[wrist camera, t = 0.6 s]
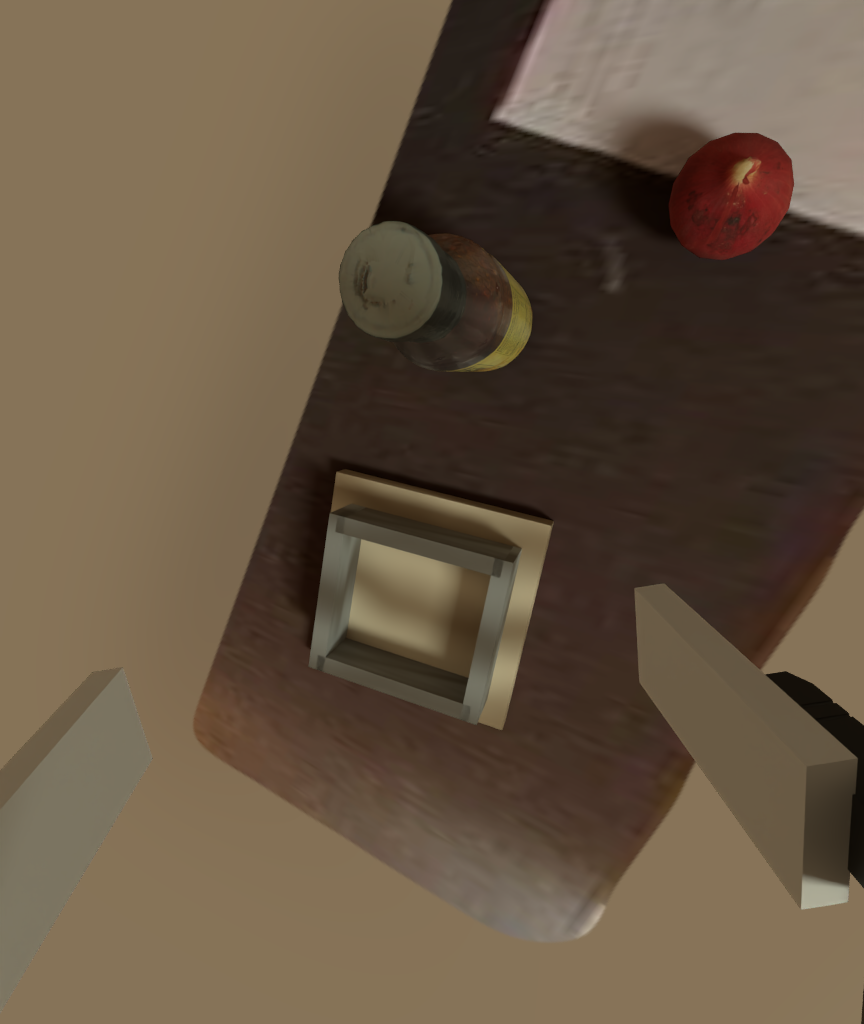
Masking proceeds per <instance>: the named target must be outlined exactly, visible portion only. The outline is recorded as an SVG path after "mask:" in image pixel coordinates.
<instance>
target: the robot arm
mask: <svg viewBox="0 0 864 1024" xmlns="http://www.w3.org/2000/svg"><path fill="white" fill-rule="evenodd" d="M635 607H636V626H637V646H638V665H639V682H640V684H641V685H642V687H643V688H644V689H645V691H646V692H647V694H648V695H649V696H650V698H651V699H652V701H653V702H654V704H655V705H656V706H657V708H658V709H659V711H660V712H661V713H662V715H663V716H664V718H665V719H666V720H667V722H668V723H669V725H670V726H671V727H672V729H673V730H674V732H675V733H676V734H677V736H678V737H679V739H680V740H681V742H682V743H683V744H684V746H685V747H686V749H687V750H688V751H689V753H690V754H691V756H692V757H693V758H694V760H695V761H696V763H697V764H698V765H699V767H700V768H701V770H702V771H703V772H704V774H705V775H706V777H707V778H708V779H709V781H710V782H711V784H712V785H713V787H714V788H715V789H716V791H717V792H718V794H719V795H720V796H721V798H722V799H723V801H724V802H725V803H726V805H727V806H728V808H729V809H730V810H731V812H732V813H733V815H734V816H735V817H736V819H737V820H738V822H739V823H740V825H741V826H742V827H743V829H744V830H745V831H746V833H747V834H748V836H749V837H750V839H751V840H752V841H753V842H754V844H755V846H756V847H757V848H758V850H759V851H760V853H761V854H762V856H763V857H764V858H765V860H766V861H767V863H768V864H769V865H770V867H771V868H772V870H773V871H774V872H775V874H776V875H777V877H778V878H779V879H780V881H781V882H782V884H783V885H784V886H785V888H786V889H787V891H788V892H789V893H790V895H791V896H792V898H793V899H794V900H795V902H796V903H797V905H798V906H799V907H800V909H809V908H814V907H821V906H827V905H833V904H840V903H846V902H848V894H849V879H850V873H851V874H852V875H853V876H854V877H855V878H856V880H857V881H858V882H859V883H860V884H861V885H862V887H863V888H864V725H862V724H861V723H860V722H859V721H858V720H856V719H855V718H854V717H850V716H849V713H848V712H847V711H845V710H844V709H843V708H842V707H840V706H839V705H838V704H837V703H833V701H832V699H831V698H830V697H828V696H827V695H826V694H825V693H823V692H822V691H821V690H820V689H818V688H817V687H816V686H815V685H814V684H812V683H810V682H808V681H806V680H804V679H801V678H799V677H797V676H795V675H793V674H790V673H788V672H786V671H785V672H778V673H772V674H766V675H765V674H764V673H763V672H762V671H760V670H759V669H758V668H757V667H756V666H755V665H754V664H753V663H752V662H750V661H749V660H748V659H747V658H746V657H745V656H744V655H743V654H742V653H741V652H739V651H738V650H737V649H736V648H735V647H734V646H733V645H732V644H731V643H729V642H728V641H727V640H726V639H725V638H724V637H723V636H722V635H721V634H719V633H718V632H717V631H716V630H715V629H714V628H713V627H712V626H711V625H709V624H708V623H707V622H706V621H705V620H704V619H703V618H702V617H701V616H699V615H698V614H697V613H696V612H695V611H694V610H693V609H692V608H691V607H690V606H688V605H687V604H686V603H685V602H684V601H683V600H682V599H681V598H680V597H678V596H677V595H676V594H675V593H674V592H673V591H672V590H671V589H670V588H668V587H667V586H666V585H665V584H658V585H651V586H645V587H638V588H635ZM151 760H152V755H151V752H150V749H149V746H148V743H147V740H146V737H145V734H144V731H143V728H142V725H141V722H140V718H139V716H138V712H137V710H136V706H135V703H134V700H133V697H132V694H131V691H130V688H129V685H128V682H127V679H126V676H125V673H124V670H123V667H122V668H115V669H109V670H102V671H96V672H92V673H91V674H90V675H89V677H87V679H86V680H85V681H84V682H83V683H82V684H81V685H80V686H79V687H78V688H77V689H76V690H75V691H74V692H73V693H72V694H71V696H70V697H69V698H68V699H67V700H66V701H65V702H64V703H63V704H62V705H61V706H60V707H59V708H58V709H57V710H56V712H55V713H54V714H53V715H52V716H51V717H50V718H49V719H48V720H47V721H46V722H45V723H44V724H43V725H42V726H41V728H39V730H38V731H37V732H36V733H35V734H34V735H33V736H32V737H31V738H30V739H29V740H28V742H26V743H25V744H24V746H23V747H22V748H21V749H20V750H19V751H18V752H17V753H16V754H15V755H14V756H13V757H12V759H10V760H9V761H8V763H7V764H6V765H5V766H4V767H3V768H2V769H1V770H0V1013H1V1011H2V1009H3V1008H4V1006H5V1004H6V1003H7V1001H8V999H9V998H10V996H11V994H12V993H13V991H14V989H15V988H16V986H17V984H18V983H19V981H20V979H21V978H22V976H23V974H24V973H25V971H26V969H27V967H28V966H29V964H30V963H31V961H32V959H33V957H34V956H35V954H36V952H37V951H38V949H39V947H40V946H41V944H42V942H43V941H44V939H45V937H46V935H47V934H48V932H49V931H50V929H51V927H52V926H53V924H54V922H55V921H56V919H57V917H58V916H59V914H60V912H61V911H62V909H63V907H64V906H65V904H66V902H67V901H68V899H69V897H70V896H71V894H72V892H73V891H74V889H75V887H76V886H77V884H78V882H79V881H80V879H81V877H82V876H83V874H84V872H85V871H86V869H87V867H88V865H89V864H90V862H91V860H92V859H93V857H94V855H95V854H96V852H97V851H98V848H99V847H100V845H101V844H102V842H103V840H104V839H105V837H106V835H107V834H108V832H109V830H110V829H111V827H112V825H113V824H114V822H115V820H116V819H117V817H118V815H119V813H120V812H121V810H122V809H123V807H124V805H125V804H126V802H127V800H128V799H129V797H130V795H131V793H132V792H133V790H134V789H135V787H136V785H137V784H138V782H139V780H140V778H141V777H142V775H143V774H144V772H145V770H146V769H147V767H148V765H149V764H150V762H151ZM861 1024H864V991H863V1007H862V1022H861Z"/></svg>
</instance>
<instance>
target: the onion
mask: <svg viewBox="0 0 864 1024" xmlns="http://www.w3.org/2000/svg"><path fill="white" fill-rule="evenodd" d="M793 187H794V179H793V170H792V161H791V159H790V157H789V156H788V155H787V154H786V152H785V151H784V150H783V148H782V147H781V146H780V145H779V143H778V142H776V141H774V140H772V139H769V138H767V137H765V136H763V135H761V134H759V133H733V134H730V135H727V136H724V137H721V138H718V139H715V140H712V141H710V142H708V143H707V144H706V145H705V146H703V147H702V148H701V149H700V150H698V151H697V152H696V153H695V154H693V155H692V156H691V157H690V158H689V159H688V160H687V162H686V164H685V165H684V167H683V168H682V170H681V172H680V173H679V175H678V177H677V178H676V180H675V182H674V183H673V187H672V192H671V197H670V201H669V213H670V223H671V227H672V229H673V231H674V233H675V234H676V236H677V238H678V240H679V241H680V243H681V245H682V246H683V247H685V248H686V249H688V250H689V251H690V252H692V253H693V254H695V255H696V256H698V257H699V258H707V259H717V260H725V259H728V258H732V257H735V256H738V255H741V254H744V253H747V252H750V251H752V250H753V249H754V248H756V247H757V246H758V245H759V244H761V243H762V242H763V241H764V240H765V239H767V238H768V237H769V236H770V235H771V234H772V233H773V232H774V231H775V229H776V228H777V226H778V225H779V223H780V221H781V220H782V218H783V217H784V215H785V214H786V212H787V210H788V209H789V205H790V201H791V196H792V191H793Z"/></svg>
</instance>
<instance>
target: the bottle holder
mask: <svg viewBox="0 0 864 1024" xmlns="http://www.w3.org/2000/svg"><path fill="white" fill-rule="evenodd" d="M553 523H554V521H552V520H548V519H544V518H540V517H536V516H532V515H528V514H524V513H519V512H515V511H511V510H507V509H503V508H499V507H495V506H491V505H487V504H483V503H479V502H475V501H471V500H467V499H463V498H459V497H455V496H451V495H447V494H443V493H439V492H435V491H431V490H427V489H423V488H419V487H415V486H411V485H407V484H403V483H399V482H395V481H391V480H387V479H383V478H379V477H375V476H371V475H367V474H363V473H359V472H355V471H351V470H347V469H344V470H341V471H338V472H336V478H335V486H334V493H333V500H332V508H331V513H330V514H329V521H328V529H327V536H326V543H325V551H324V558H323V565H322V572H321V580H320V587H319V594H318V602H317V609H316V616H315V623H314V631H313V638H312V645H311V653H310V660H309V667H311V668H314V669H317V670H320V671H323V672H325V673H328V674H331V675H334V676H337V677H340V678H343V679H346V680H348V681H351V682H354V683H357V684H360V685H363V686H366V687H369V688H371V689H374V690H377V691H380V692H383V693H386V694H389V695H392V696H394V697H397V698H400V699H403V700H406V701H409V702H412V703H415V704H417V705H420V706H423V707H426V708H429V709H432V710H435V711H438V712H440V713H443V714H446V715H449V716H452V717H455V718H458V719H461V720H463V721H466V722H469V723H472V724H475V725H477V722H480V723H483V724H485V725H488V726H491V727H494V728H497V729H500V730H502V729H503V726H504V723H505V720H506V716H507V712H508V708H509V704H510V700H511V695H512V691H513V687H514V683H515V679H516V675H517V671H518V667H519V663H520V658H521V654H522V650H523V646H524V642H525V638H526V634H527V630H528V625H529V621H530V617H531V613H532V609H533V605H534V601H535V597H536V593H537V588H538V584H539V580H540V576H541V572H542V568H543V564H544V560H545V556H546V551H547V547H548V543H549V539H550V535H551V531H552V527H553Z"/></svg>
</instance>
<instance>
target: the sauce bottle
mask: <svg viewBox="0 0 864 1024" xmlns="http://www.w3.org/2000/svg"><path fill="white" fill-rule="evenodd" d="M339 283H340V293H341V298H342V303H343V305H344V307H345V310H346V312H347V313H348V315H349V317H350V318H351V319H352V321H353V322H354V323H355V324H356V326H357V327H358V328H359V329H361V330H362V331H364V332H365V333H367V334H369V335H371V336H374V337H377V338H380V339H383V340H386V341H389V342H394V344H395V346H396V347H397V349H398V350H399V351H400V352H401V353H402V354H403V355H404V356H405V357H406V358H407V359H408V360H410V361H411V362H413V363H414V364H416V365H418V366H421V367H423V368H426V369H430V370H435V371H464V372H467V371H490V370H494V369H498V368H501V367H503V366H505V365H506V364H508V363H509V362H511V361H512V360H513V359H514V358H515V357H516V356H517V355H518V354H519V353H520V352H521V351H522V350H523V348H524V346H525V345H526V343H527V341H528V338H529V336H530V333H531V327H532V308H531V306H530V302H529V299H528V297H527V295H526V293H525V291H524V290H523V288H522V287H521V286H520V285H519V283H518V282H517V281H516V280H515V279H514V278H513V277H512V276H511V275H510V274H509V273H508V272H507V270H506V269H505V268H504V267H503V266H502V265H501V264H500V263H499V262H498V261H497V260H496V259H495V258H494V257H493V256H492V255H490V254H488V253H487V252H486V251H485V250H484V249H483V248H481V247H480V246H479V245H478V244H476V243H474V242H473V241H472V240H469V239H466V238H463V237H462V236H457V235H453V234H448V233H443V234H432V235H427V234H426V233H424V232H423V231H421V230H420V229H418V228H416V227H415V226H413V225H410V224H408V223H405V222H400V221H386V222H382V223H379V224H375V225H373V226H371V227H369V228H368V229H366V230H363V231H362V232H361V233H360V234H359V235H358V236H357V237H356V238H355V239H354V240H353V241H352V243H351V244H350V246H349V247H348V249H347V250H346V251H345V254H344V258H343V260H342V262H341V265H340V271H339Z"/></svg>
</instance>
